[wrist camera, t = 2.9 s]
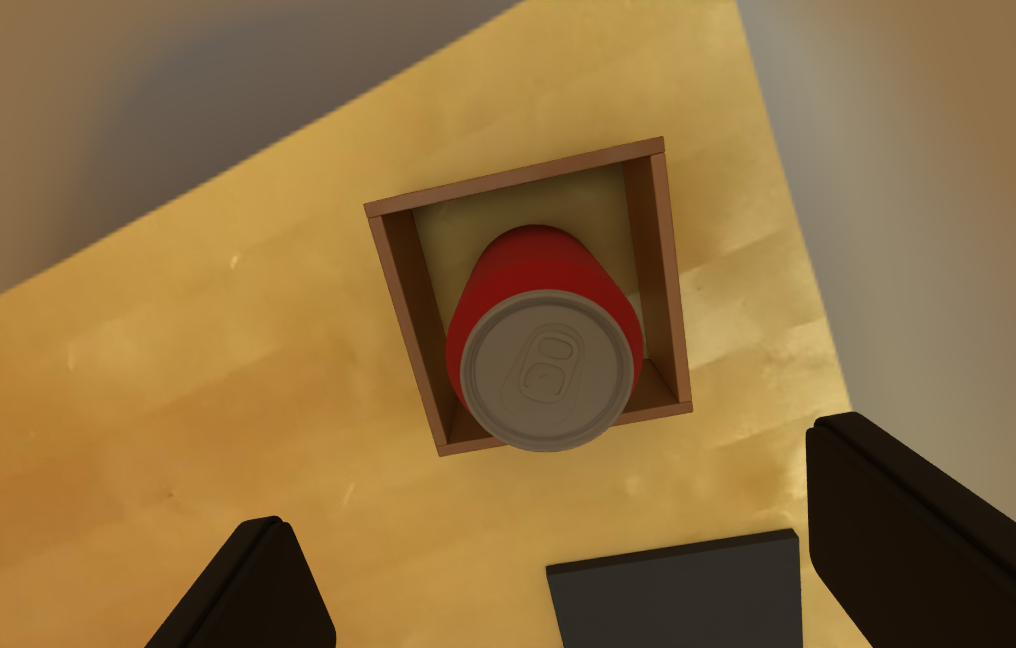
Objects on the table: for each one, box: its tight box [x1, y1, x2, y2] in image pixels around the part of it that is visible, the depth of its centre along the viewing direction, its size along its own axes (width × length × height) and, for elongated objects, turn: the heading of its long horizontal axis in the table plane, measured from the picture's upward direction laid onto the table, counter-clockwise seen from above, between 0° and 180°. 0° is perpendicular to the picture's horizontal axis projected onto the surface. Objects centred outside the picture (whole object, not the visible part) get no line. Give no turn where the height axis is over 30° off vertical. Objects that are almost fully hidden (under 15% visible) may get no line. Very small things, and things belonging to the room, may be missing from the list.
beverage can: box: [445, 225, 643, 452], centre depth 20 cm, size 7×7×12 cm
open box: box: [363, 136, 693, 457], centre depth 23 cm, size 12×12×6 cm
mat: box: [546, 529, 803, 648], centre depth 33 cm, size 16×16×1 cm
